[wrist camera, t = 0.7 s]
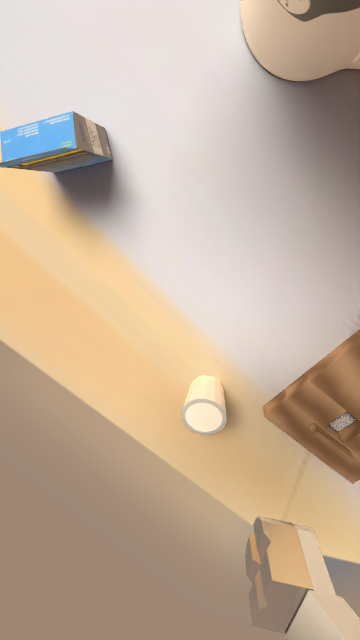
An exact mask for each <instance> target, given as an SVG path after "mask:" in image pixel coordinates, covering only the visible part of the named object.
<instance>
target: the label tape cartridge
mask: <svg viewBox="0 0 360 640" xmlns="http://www.w3.org/2000/svg"><path fill="white" fill-rule="evenodd" d="M0 138H1V150H2V162H1V163H0V167H7V168H18V169H27V170H36V171H46V172H61V171H66V170H70V169H75V168H79V167H84V166H88V165H92V164H97V163H101V162H105V161H109V160H112V154H111V150H110V147H109V143H108V139H107V135H106V131H105V128H104V127H102V126H100V125H98V124H96V123H94V122H92V121H90V120H88V119H87V118H85V117H83V116H81V115H79V114H77V113H75V112H73V111H72V112H69V113H65V114H62V115H58V116H55V117H51V118H48V119H45V120H41V121H37V122H34V123H30V124H27V125H24V126H20V127H16V128H13V129H9V130H6V131H2V132H0Z"/></svg>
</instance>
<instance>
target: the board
mask: <svg viewBox="0 0 360 640" xmlns="http://www.w3.org/2000/svg"><path fill="white" fill-rule="evenodd" d="M263 407H264V414H265V417H266V418H267V419H269V420H270V421H271V422H273V423H274V424H275V425H277V426H278V427H279V428H281V429H282V430H283V431H284V432H286V433H287V434H288V435H290V436H291V437H292V438H294V439H295V440H296V441H298V442H299V443H300V444H301V445H303V446H304V447H305V448H307V449H308V450H309V451H311V452H312V453H313V454H315V455H316V456H317V457H318V458H320V459H321V460H322V461H324V462H325V463H326V464H328V465H329V466H330V467H332V468H333V469H334V470H336V471H337V472H338V473H339V474H341V475H342V476H343V477H345V478H346V479H347V480H349V481H350V482H351V483H355V482H356V481H358V480H360V330H359V331H357V332H356V333H355V334H354V335H352V336H351V337H350V338H349V339H347V340H346V341H345V342H344V343H342V344H341V345H340V346H339V347H337V348H336V349H335V350H333V351H332V352H331V353H330V354H328V355H327V356H326V357H325V358H323V359H322V360H321V361H320V362H318V363H317V364H316V365H315V366H313V367H312V368H311V369H310V370H308V371H307V372H306V373H305V374H303V375H302V376H301V377H300V378H298V379H297V380H296V381H295V382H293V383H292V384H291V385H290V386H288V387H287V388H286V389H285V390H283V391H282V392H281V393H279V394H278V395H277V396H276V397H274V398H273V399H272V400H271V401H269V402H268V403H267V404H266V405H264V406H263ZM346 412H348V413H350V414H351V415H352V416H353V417H355V418H356V419H357V420H356V421H354V422H353V423H351V424H350V425H348V426H347V427H345V428H344V429H342V430H341V431H339V432H338V431H336V430H335V429H334V428H333V427H331V426H330V425H329V423H331V422H332V421H334V420H335V419H337V418H338V417H340V416H341V415H343V414H344V413H346Z"/></svg>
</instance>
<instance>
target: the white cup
mask: <svg viewBox="0 0 360 640" xmlns="http://www.w3.org/2000/svg"><path fill="white" fill-rule="evenodd" d="M181 418H182V422H183V423H184V425H185V426H186V427H187V428H188V429H189V430H191V431H192V432H194V433H197V434H200V435H212V434H215V433H218V432H219V431H221V430H222V429H223V428H224V427H225V424H226V422H227V416H226V407H225V399H224V391H223V385H222V384H221V382H220V381H219V380H218V379H216V378H215V377H212V376H209V375H205V376H200V377H197V378H195V379H194V381H193V382H192V383H191V386H190V389H189V392H188V395H187V397H186V400H185V403H184V406H183V409H182V412H181Z"/></svg>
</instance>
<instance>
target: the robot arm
mask: <svg viewBox="0 0 360 640" xmlns="http://www.w3.org/2000/svg"><path fill="white" fill-rule="evenodd" d="M240 14H241V22H242V28H243V32H244V35H245V38H246V41H247V44H248V46H249V48H250V50H251V52H252V53H253V55H254V56H255V58H256V59H257V60H258V62H259V63H260V64H261V65H262V66H263V67H264V68H265V69H267V70H268V71H269V72H271V73H272V74H274V75H276V76H278V77H280V78H283V79H287V80H292V81H309V80H314V79H318V78H321V77H324V76H326V75H329V74H331V73H333V72H336V71H338V70H341V69H345V68H347V69H360V0H240ZM254 532H255V533H253V534H252V535H250V536H249V539H248V542H247V548H246V572H247V576H248V578H249V579H250V581H251V582H252V584H253V585H252V587H251V590H250V593H249V600H250V608H251V617H252V625H253V626H256V627H259V628H264V629H267V630H271V631H275V632H279V633H282V634H286V636H285V637H286V639H287V640H360V619H359V618H358V616H357V615H356V614H355V613H354V611H353V610H352V609H351V608H350V606H349V605H348V604H347V603H346V602H345V600H344V599H343V598H342V597H339V596H336V594H335V591H334V588H333V585H332V582H331V580H330V577H329V574H328V571H327V568H326V565H325V562H324V559H323V556H322V553H321V550H320V548H319V545H318V542H317V539H316V536H315V533H314V531H313V530H312V528H311V527H306V526H302V525H297V524H292V523H289V522H284V521H279V520H274V519H269V518H264V517H259V516H258V517H257V518H256V520H255V522H254Z"/></svg>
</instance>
